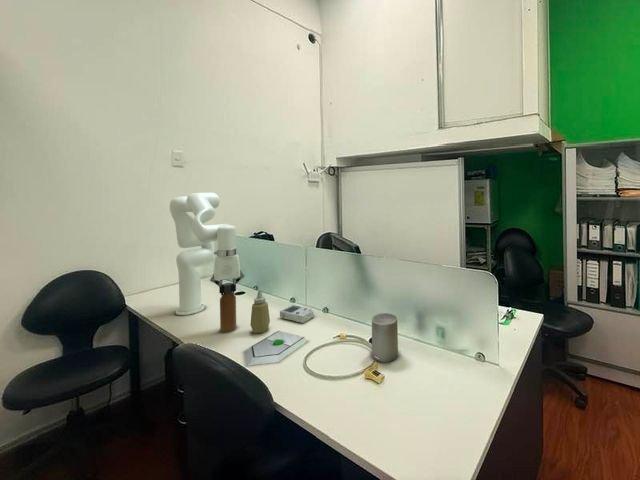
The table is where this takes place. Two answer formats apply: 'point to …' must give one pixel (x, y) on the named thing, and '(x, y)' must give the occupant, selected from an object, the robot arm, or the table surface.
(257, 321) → the squeeze bottle
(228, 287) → the cap
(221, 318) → the bottle
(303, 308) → the handheld gaming device
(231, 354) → the table surface
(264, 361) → the security device
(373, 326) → the pillar candle
